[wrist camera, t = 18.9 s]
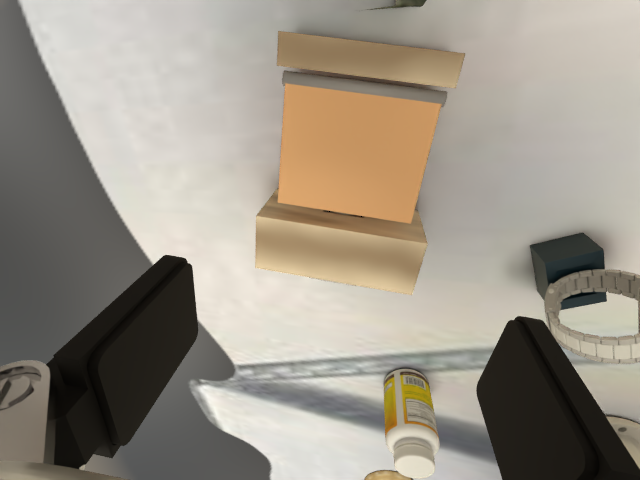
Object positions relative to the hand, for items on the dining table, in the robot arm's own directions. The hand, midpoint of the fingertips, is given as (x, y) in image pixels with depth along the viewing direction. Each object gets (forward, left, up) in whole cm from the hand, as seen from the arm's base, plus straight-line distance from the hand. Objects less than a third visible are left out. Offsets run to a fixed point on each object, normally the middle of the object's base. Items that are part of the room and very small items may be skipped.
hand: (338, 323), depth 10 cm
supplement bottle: (-28, -10, -23) cm, 37 cm away
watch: (-8, -20, -23) cm, 31 cm away
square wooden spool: (-1, +1, -22) cm, 22 cm away
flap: (+1, +1, -19) cm, 19 cm away
